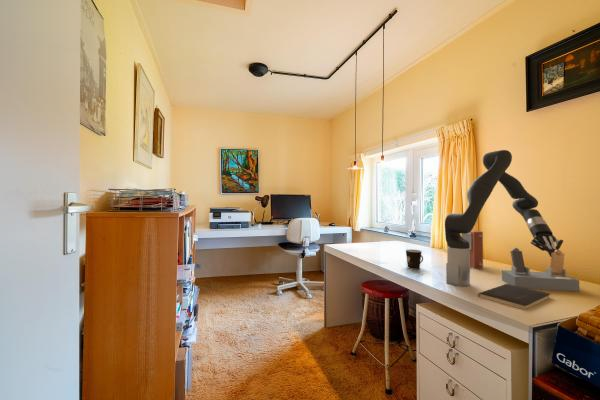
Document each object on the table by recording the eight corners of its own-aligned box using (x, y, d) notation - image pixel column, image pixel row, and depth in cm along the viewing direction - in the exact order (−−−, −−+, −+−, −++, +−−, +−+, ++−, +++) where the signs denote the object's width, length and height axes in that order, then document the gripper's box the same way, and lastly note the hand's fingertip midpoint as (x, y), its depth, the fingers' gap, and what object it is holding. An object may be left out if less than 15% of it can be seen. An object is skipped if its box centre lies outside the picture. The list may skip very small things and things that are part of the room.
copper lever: (552, 275, 123) (554, 250, 122) (549, 273, 126) (551, 248, 124) (563, 275, 122) (565, 250, 121) (559, 273, 125) (561, 249, 123)
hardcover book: (550, 299, 110) (550, 293, 110) (525, 311, 98) (525, 305, 98) (504, 288, 124) (504, 283, 124) (478, 297, 112) (478, 292, 112)
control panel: (470, 263, 171) (485, 269, 156) (458, 263, 171) (473, 269, 156) (469, 229, 171) (485, 231, 156) (458, 229, 171) (473, 231, 156)
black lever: (516, 272, 127) (511, 247, 131) (513, 272, 129) (509, 248, 133) (526, 272, 126) (521, 247, 130) (523, 273, 128) (518, 248, 132)
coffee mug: (404, 265, 166) (404, 249, 166) (419, 266, 164) (419, 249, 164) (408, 270, 154) (408, 252, 154) (424, 271, 152) (424, 253, 152)
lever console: (515, 287, 123) (514, 269, 123) (501, 280, 134) (501, 263, 134) (579, 291, 117) (579, 272, 117) (560, 283, 129) (559, 266, 129)
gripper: (526, 223, 135) (542, 252, 123) (557, 223, 132) (577, 253, 120) (520, 232, 140) (535, 261, 128) (550, 232, 137) (568, 262, 125)
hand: (555, 257), depth 124 cm, fingers closed
